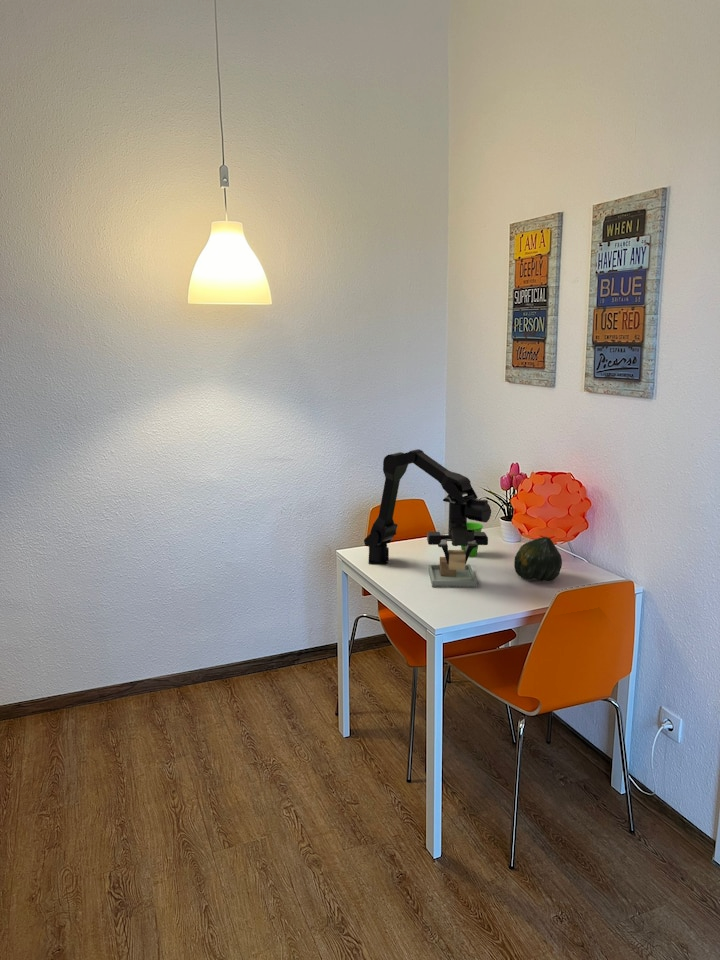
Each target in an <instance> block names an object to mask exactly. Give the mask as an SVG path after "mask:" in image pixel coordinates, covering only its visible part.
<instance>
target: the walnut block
mask: <svg viewBox="0 0 720 960" xmlns="http://www.w3.org/2000/svg"><path fill="white" fill-rule="evenodd" d="M439 565H440V567H439V571H440V575H441V576H456V570H449V567H448V564H447V561H446V557H445V556H439Z"/></svg>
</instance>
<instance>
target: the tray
mask: <svg viewBox="0 0 720 960" xmlns="http://www.w3.org/2000/svg"><path fill="white" fill-rule="evenodd" d="M427 566H428V570H427V571H428V574H429V578H430V583H431V587H432V588H477V587H478V581H477V578H476V575H475V573H474V571H473V568H472V566H471V564H465V570H456V576H441V575H440V571H439V567H440V564H428V565H427Z"/></svg>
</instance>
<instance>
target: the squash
mask: <svg viewBox="0 0 720 960" xmlns="http://www.w3.org/2000/svg"><path fill="white" fill-rule="evenodd" d="M513 564H514V570H515V573H516V574H517V575H518V577H520V578H521V579H525V580H527V581H532V580H535V581H547V582H551V581H554V580H556V579H557V578H558V577H559V574H560V571H561V569H562V566H563V565H562V564H563V560H562V555H561V553H560V552H559V549H558V548H557V546H556V545H555V544H554V542H553V540H552V538H550V537H549V536H542V537H538V538H535V539H533V540H531V541H528V542H526V543H524V544H522V545H521V546H520V548H519V549H518V550H517V553H516V554H515V556H514V563H513Z"/></svg>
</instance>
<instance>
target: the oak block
mask: <svg viewBox="0 0 720 960" xmlns="http://www.w3.org/2000/svg"><path fill="white" fill-rule="evenodd" d="M448 556H449V564H448V567H449V570H465V565H466V564H465V559H466V554H465V552H464V550H461V549H448Z"/></svg>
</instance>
